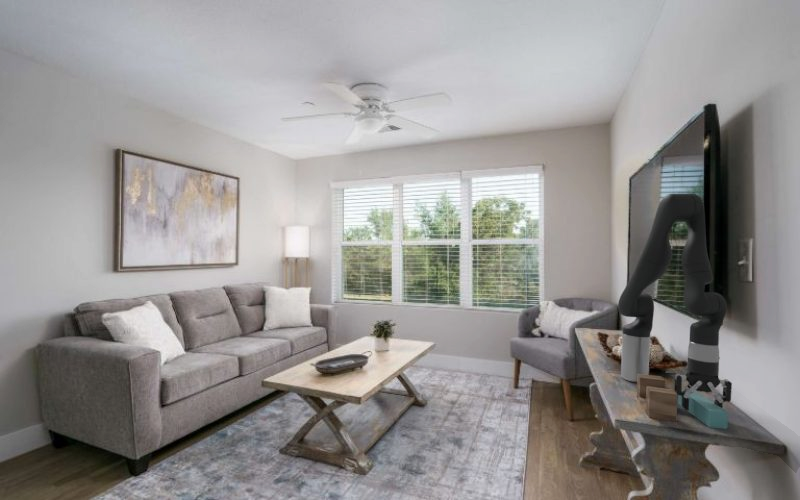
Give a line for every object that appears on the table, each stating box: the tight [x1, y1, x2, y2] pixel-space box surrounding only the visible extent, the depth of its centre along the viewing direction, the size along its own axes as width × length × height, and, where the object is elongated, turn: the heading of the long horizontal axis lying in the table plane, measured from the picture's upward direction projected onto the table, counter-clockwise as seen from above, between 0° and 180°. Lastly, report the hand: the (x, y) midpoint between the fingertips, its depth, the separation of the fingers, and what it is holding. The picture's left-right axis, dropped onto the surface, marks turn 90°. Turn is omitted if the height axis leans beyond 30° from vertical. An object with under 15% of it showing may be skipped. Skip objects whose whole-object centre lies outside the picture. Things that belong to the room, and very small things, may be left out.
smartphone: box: [665, 369, 677, 375], centre depth 167 cm, size 7×1×15 cm
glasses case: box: [677, 389, 729, 430], centre depth 120 cm, size 17×5×5 cm, turn 170°
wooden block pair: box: [636, 374, 678, 422], centre depth 124 cm, size 17×7×8 cm, turn 159°
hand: (701, 411), depth 120 cm, fingers open, 7 cm apart
